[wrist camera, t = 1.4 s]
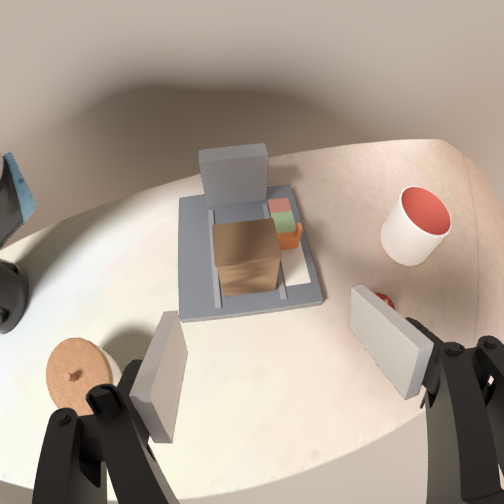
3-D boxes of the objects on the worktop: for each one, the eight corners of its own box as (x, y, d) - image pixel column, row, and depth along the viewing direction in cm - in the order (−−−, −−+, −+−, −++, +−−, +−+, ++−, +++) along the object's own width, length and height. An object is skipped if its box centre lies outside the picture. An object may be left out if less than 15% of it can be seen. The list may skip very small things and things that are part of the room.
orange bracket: (223, 257, 40) (220, 238, 36) (223, 251, 41) (219, 231, 36) (297, 248, 41) (302, 228, 37) (296, 242, 41) (300, 222, 37)
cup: (422, 276, 40) (453, 246, 32) (373, 257, 43) (397, 221, 34) (425, 233, 45) (449, 199, 37) (381, 214, 47) (400, 177, 39)
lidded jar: (96, 430, 28) (59, 432, 20) (66, 370, 33) (28, 357, 24) (149, 399, 32) (118, 396, 24) (113, 337, 36) (80, 318, 28)
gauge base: (182, 322, 37) (156, 291, 27) (181, 203, 49) (166, 155, 39) (320, 304, 39) (343, 267, 29) (289, 191, 50) (296, 141, 40)
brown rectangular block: (223, 297, 37) (214, 264, 29) (220, 264, 40) (211, 225, 32) (275, 290, 38) (281, 256, 30) (269, 258, 40) (273, 218, 32)
